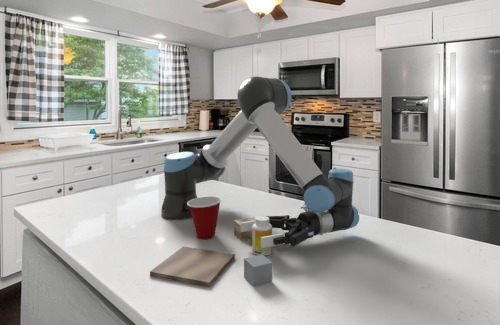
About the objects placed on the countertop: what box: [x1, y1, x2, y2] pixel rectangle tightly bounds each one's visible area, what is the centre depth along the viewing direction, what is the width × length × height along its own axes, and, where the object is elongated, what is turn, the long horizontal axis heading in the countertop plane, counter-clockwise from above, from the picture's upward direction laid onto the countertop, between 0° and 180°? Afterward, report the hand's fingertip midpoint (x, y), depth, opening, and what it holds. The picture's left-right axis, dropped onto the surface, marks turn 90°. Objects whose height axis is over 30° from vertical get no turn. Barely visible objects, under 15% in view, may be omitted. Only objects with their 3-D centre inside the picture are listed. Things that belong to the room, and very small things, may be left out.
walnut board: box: [149, 246, 236, 288], centre depth 88 cm, size 16×16×1 cm
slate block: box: [243, 255, 273, 288], centre depth 81 cm, size 5×5×5 cm
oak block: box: [233, 218, 252, 241], centre depth 108 cm, size 5×5×5 cm
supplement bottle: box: [251, 215, 273, 257], centre depth 96 cm, size 6×6×10 cm
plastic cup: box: [187, 195, 222, 240], centre depth 108 cm, size 11×11×12 cm
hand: (250, 234), depth 94 cm, fingers open, 12 cm apart
